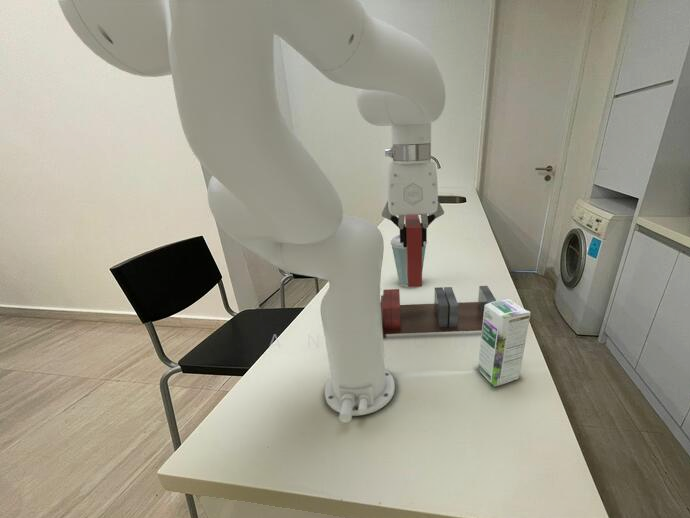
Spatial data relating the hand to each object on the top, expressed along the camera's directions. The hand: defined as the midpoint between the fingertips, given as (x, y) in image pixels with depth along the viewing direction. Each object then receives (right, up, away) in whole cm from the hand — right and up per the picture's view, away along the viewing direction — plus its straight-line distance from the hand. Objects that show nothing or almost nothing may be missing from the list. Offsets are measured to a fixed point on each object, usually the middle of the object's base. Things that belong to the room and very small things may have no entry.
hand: (413, 244), depth 73 cm
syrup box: (+16, -27, -10) cm, 32 cm away
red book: (0, -7, +4) cm, 8 cm away
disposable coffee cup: (0, -7, +29) cm, 30 cm away
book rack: (+6, -17, +9) cm, 20 cm away
